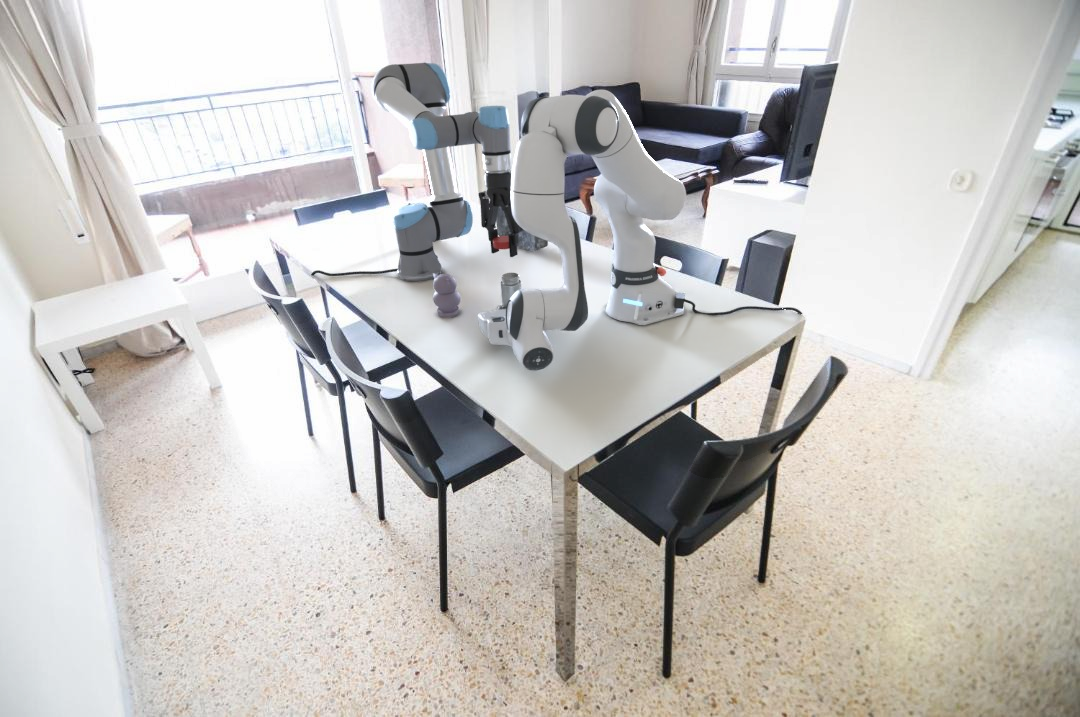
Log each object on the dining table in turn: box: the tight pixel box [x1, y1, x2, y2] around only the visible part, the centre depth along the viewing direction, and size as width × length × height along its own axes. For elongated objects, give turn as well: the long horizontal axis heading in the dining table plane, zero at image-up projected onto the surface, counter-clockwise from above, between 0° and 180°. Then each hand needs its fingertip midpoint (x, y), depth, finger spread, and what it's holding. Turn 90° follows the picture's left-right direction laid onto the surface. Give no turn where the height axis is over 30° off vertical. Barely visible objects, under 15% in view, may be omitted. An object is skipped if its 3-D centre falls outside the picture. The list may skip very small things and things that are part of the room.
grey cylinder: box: [500, 272, 522, 309], centre depth 134 cm, size 5×5×16 cm
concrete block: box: [495, 205, 549, 252], centre depth 191 cm, size 27×9×20 cm, turn 36°
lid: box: [493, 235, 509, 250], centre depth 143 cm, size 6×6×2 cm
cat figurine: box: [432, 273, 462, 318], centre depth 145 cm, size 9×8×12 cm
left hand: (504, 253), depth 145 cm, fingers closed on lid, 6 cm apart
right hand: (511, 305), depth 136 cm, fingers closed on grey cylinder, 5 cm apart
